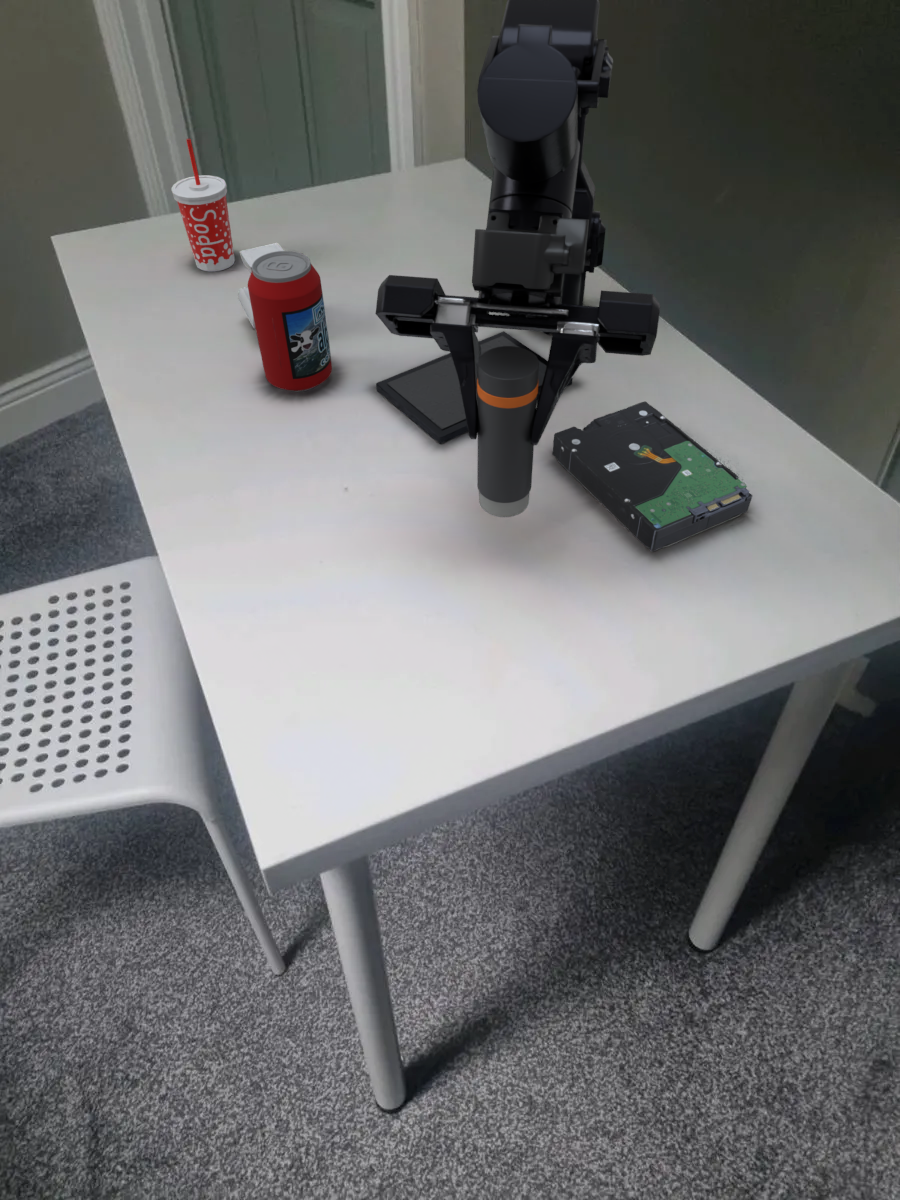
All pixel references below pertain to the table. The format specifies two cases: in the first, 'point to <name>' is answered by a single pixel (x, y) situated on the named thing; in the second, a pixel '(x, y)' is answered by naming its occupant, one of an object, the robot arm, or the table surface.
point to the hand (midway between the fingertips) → (502, 441)
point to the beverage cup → (205, 218)
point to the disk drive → (651, 475)
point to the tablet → (441, 391)
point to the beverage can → (290, 320)
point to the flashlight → (506, 428)
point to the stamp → (248, 259)
